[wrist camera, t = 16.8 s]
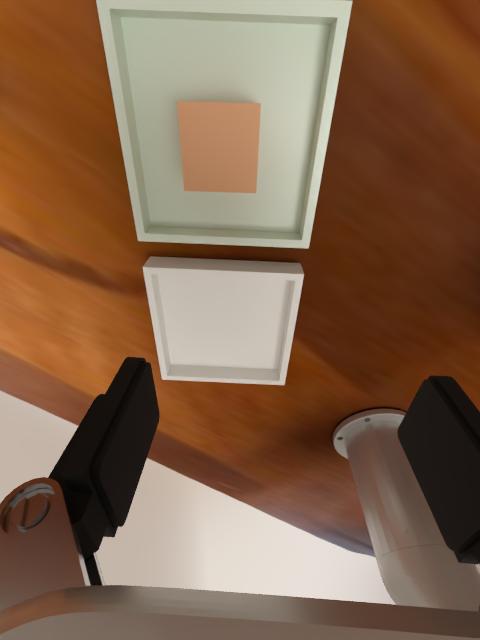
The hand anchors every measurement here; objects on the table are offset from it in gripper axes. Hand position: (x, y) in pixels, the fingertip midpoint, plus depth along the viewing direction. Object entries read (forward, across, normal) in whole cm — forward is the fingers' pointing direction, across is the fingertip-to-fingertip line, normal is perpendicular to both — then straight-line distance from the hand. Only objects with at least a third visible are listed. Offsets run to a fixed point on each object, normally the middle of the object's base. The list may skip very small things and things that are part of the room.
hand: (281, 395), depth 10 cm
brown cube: (+19, +4, -7) cm, 21 cm away
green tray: (+20, +4, -7) cm, 21 cm away
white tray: (+21, +4, +11) cm, 24 cm away
